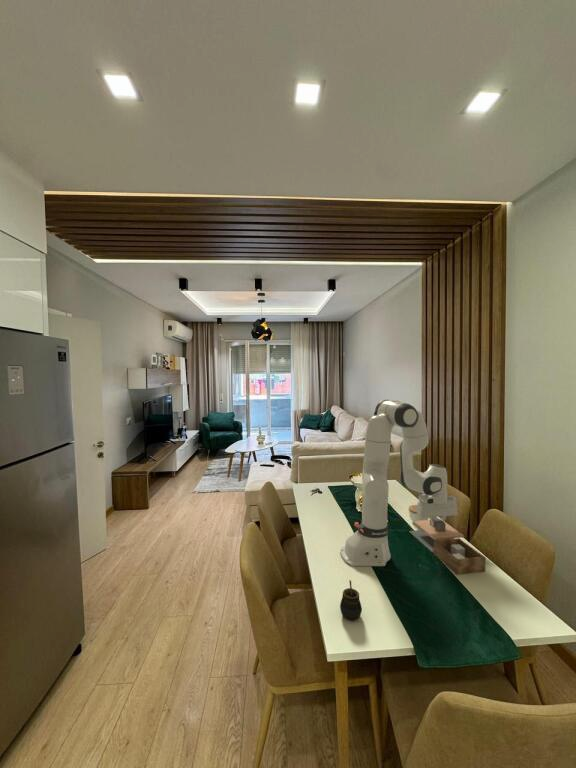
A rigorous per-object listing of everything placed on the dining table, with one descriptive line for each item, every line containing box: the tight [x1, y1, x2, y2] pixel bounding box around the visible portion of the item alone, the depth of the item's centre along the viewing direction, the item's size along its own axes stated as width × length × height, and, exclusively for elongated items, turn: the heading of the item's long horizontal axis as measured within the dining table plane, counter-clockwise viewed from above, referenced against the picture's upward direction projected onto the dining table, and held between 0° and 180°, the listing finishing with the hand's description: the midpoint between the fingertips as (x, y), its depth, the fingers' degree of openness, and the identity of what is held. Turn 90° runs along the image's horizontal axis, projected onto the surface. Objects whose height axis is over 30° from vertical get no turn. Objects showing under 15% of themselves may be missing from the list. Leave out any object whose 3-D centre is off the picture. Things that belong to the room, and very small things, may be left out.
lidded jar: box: [408, 504, 430, 524], centre depth 182 cm, size 11×11×9 cm
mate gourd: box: [339, 579, 363, 621], centre depth 112 cm, size 7×8×10 cm
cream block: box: [452, 553, 465, 559], centre depth 140 cm, size 4×4×4 cm
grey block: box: [451, 544, 465, 557], centre depth 148 cm, size 4×4×4 cm
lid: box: [413, 517, 465, 540], centre depth 162 cm, size 15×18×5 cm
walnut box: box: [432, 538, 486, 576], centre depth 144 cm, size 13×16×6 cm
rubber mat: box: [409, 529, 455, 553], centre depth 163 cm, size 18×20×1 cm
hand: (437, 524), depth 163 cm, fingers closed on lid, 3 cm apart
